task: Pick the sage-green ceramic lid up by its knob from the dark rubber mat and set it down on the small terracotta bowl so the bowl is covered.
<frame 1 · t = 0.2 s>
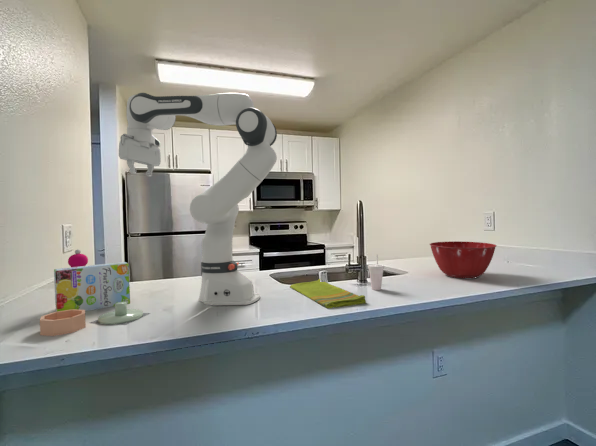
hand: (141, 174, 127), 47 cm above the worktop, tool pointing down, fingers open, 8 cm apart
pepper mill: (79, 305, 118), on the worktop
dish towel: (323, 296, 127), on the worktop
lid: (121, 317, 100), point 1 cm above the worktop, touching mat
bowl: (64, 330, 91), on the worktop
smoothie: (376, 289, 133), on the worktop
snack box: (94, 309, 112), on the worktop
mat: (121, 319, 100), on the worktop
mixing bowl: (461, 276, 158), on the worktop
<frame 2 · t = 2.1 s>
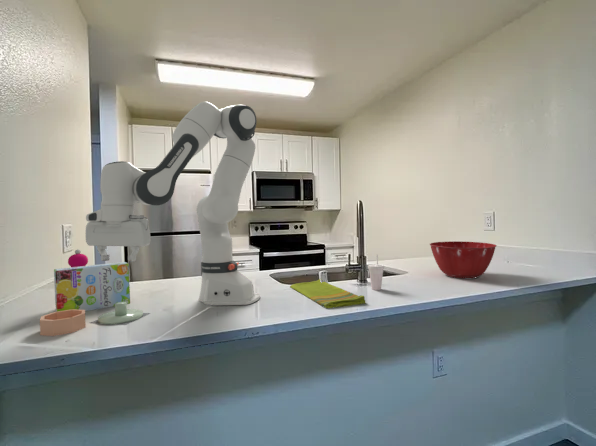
hand: (118, 261, 100), 18 cm above the worktop, tool pointing down, fingers open, 8 cm apart
nothing on the worktop moved.
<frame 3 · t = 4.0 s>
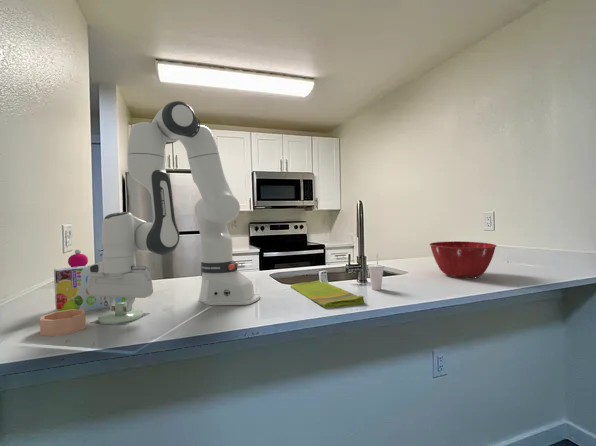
hand: (121, 311, 100), 3 cm above the worktop, tool pointing down, fingers closed on lid, 3 cm apart
lid: (121, 317, 100), point 1 cm above the worktop, touching gripper, mat
everything else where it was.
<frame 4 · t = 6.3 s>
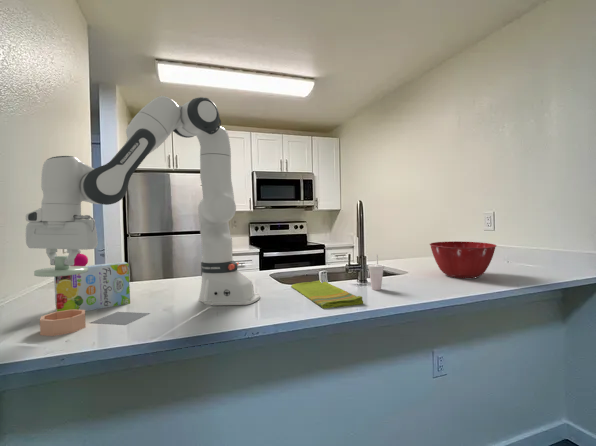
hand: (62, 265, 90), 18 cm above the worktop, tool pointing down, fingers closed on lid, 3 cm apart
lid: (62, 272, 90), point 16 cm above the worktop, touching gripper
everything else where it was.
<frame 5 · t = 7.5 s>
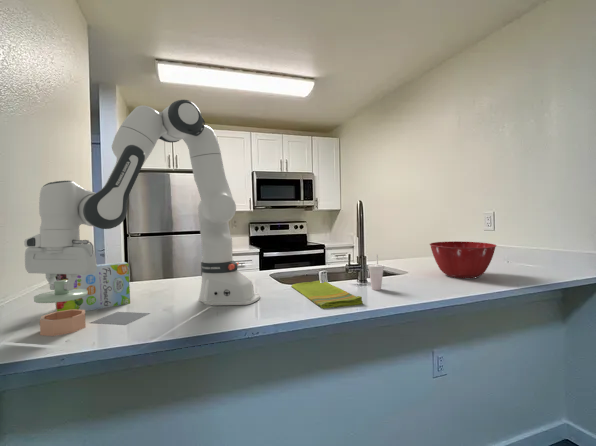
hand: (61, 289, 91), 11 cm above the worktop, tool pointing down, fingers closed on lid, 3 cm apart
lid: (61, 297, 91), point 9 cm above the worktop, touching gripper
everything else where it was.
when the fingers open (8 cm above the worktop, at t = 8.4 s): lid drops 1 cm, resting on bowl.
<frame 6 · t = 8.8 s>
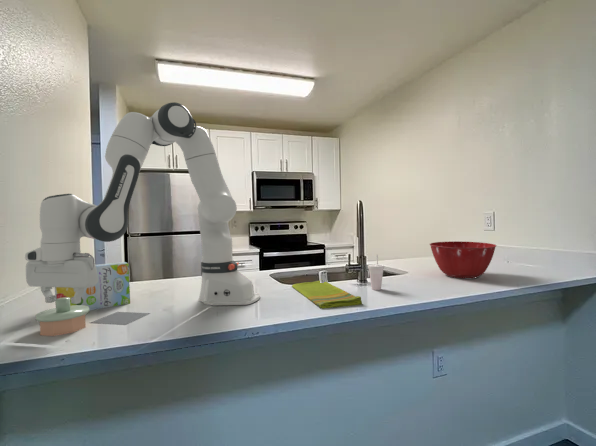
hand: (63, 302, 91), 8 cm above the worktop, tool pointing down, fingers open, 7 cm apart
lid: (63, 314, 91), point 4 cm above the worktop, touching bowl
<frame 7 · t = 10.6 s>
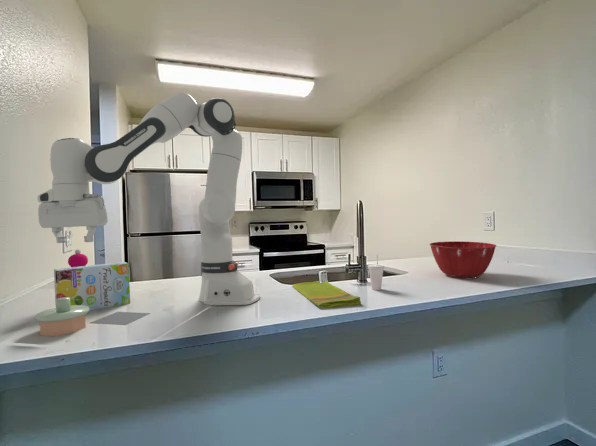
hand: (75, 242, 96), 24 cm above the worktop, tool pointing down, fingers open, 8 cm apart
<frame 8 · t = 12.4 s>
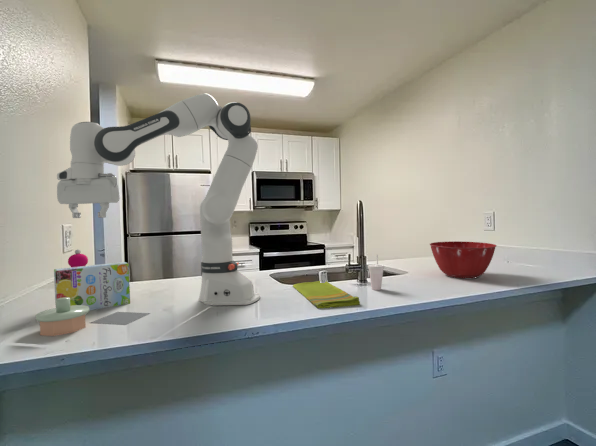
hand: (89, 217, 105), 31 cm above the worktop, tool pointing down, fingers open, 8 cm apart
at the end: lid 0.0 cm from the bowl (horizontally); lid 0.0 cm off-centre on the bowl, point 4.5 cm above the bowl's base; lid tilted 0° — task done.
